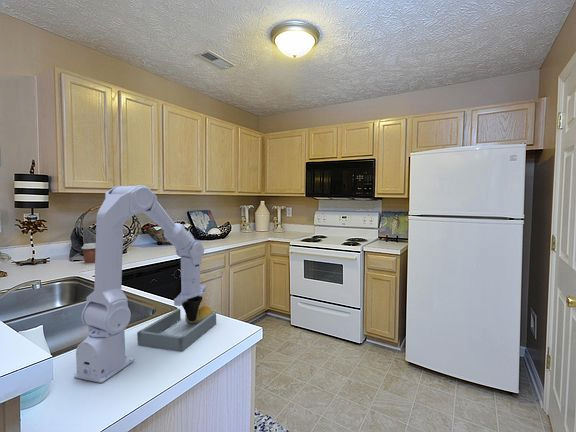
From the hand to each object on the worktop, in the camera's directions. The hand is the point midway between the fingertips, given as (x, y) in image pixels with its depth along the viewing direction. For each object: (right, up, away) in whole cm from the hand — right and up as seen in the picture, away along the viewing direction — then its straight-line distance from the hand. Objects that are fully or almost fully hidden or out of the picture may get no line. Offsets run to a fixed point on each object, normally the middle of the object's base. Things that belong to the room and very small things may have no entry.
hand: (191, 320), depth 95 cm
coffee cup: (-90, +4, +89) cm, 127 cm away
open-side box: (-2, -2, -6) cm, 6 cm away
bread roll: (+1, -2, +5) cm, 5 cm away
